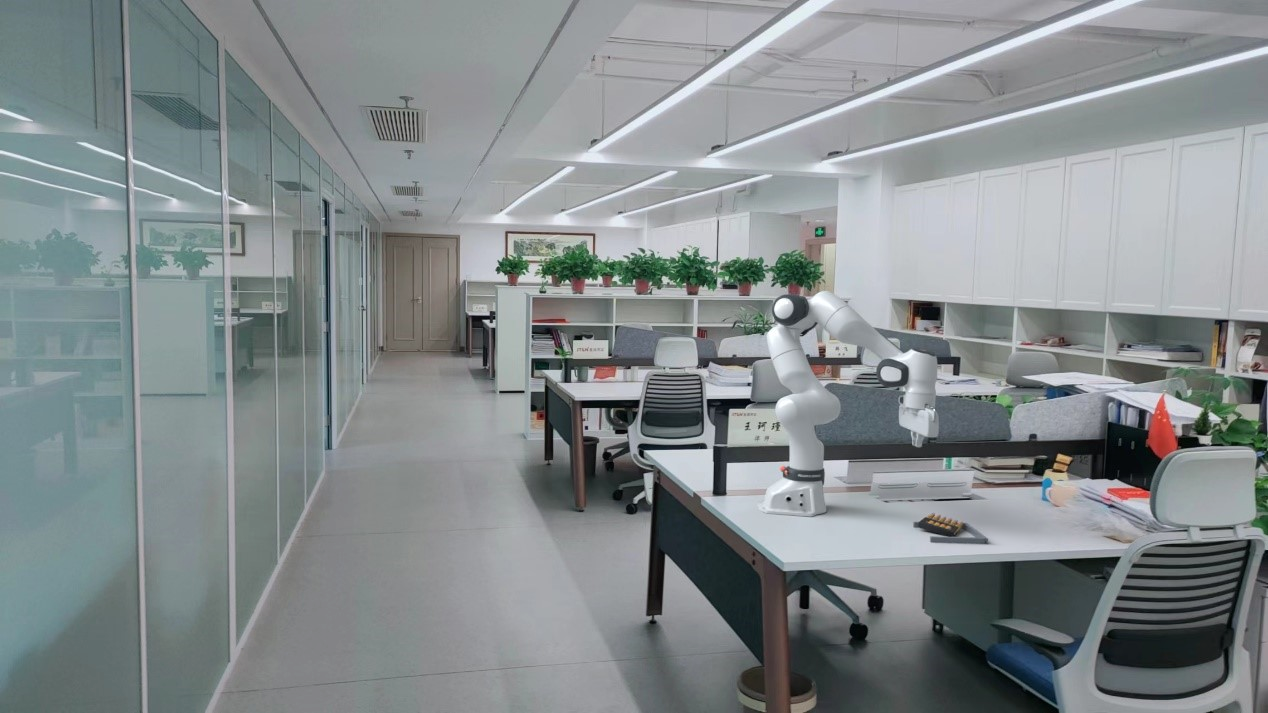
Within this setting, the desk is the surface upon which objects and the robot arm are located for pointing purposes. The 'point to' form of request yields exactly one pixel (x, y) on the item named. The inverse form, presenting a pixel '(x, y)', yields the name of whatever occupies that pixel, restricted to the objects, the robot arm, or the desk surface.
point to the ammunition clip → (940, 525)
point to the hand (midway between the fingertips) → (916, 446)
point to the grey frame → (976, 539)
